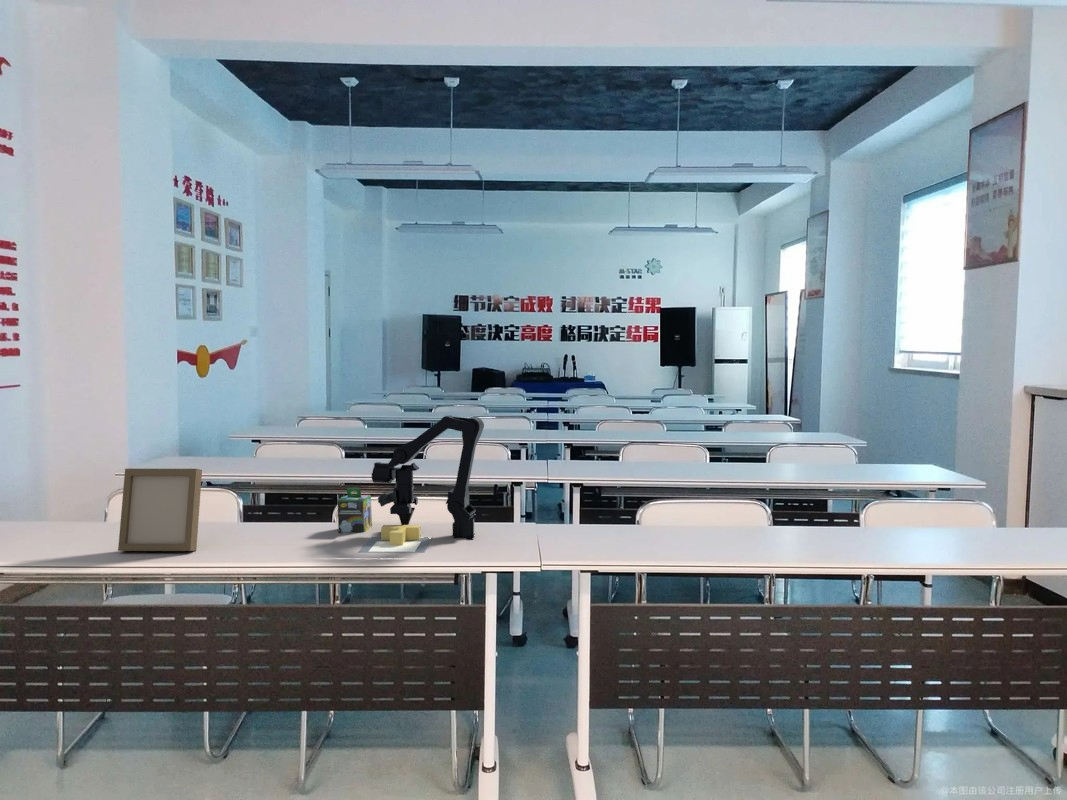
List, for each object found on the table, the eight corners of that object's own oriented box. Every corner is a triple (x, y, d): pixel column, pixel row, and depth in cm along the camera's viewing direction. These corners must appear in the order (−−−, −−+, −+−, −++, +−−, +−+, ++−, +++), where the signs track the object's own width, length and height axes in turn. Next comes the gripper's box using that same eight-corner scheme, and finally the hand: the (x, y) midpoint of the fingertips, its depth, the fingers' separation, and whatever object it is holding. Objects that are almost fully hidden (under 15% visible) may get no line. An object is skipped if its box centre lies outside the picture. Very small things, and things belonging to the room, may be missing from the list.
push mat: (433, 537, 264) (433, 536, 264) (424, 554, 243) (424, 552, 243) (372, 537, 265) (372, 536, 265) (357, 553, 244) (357, 552, 244)
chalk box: (372, 528, 280) (371, 485, 279) (364, 533, 271) (363, 489, 270) (346, 527, 281) (345, 484, 280) (337, 533, 271) (336, 489, 271)
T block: (420, 537, 263) (420, 524, 263) (415, 545, 252) (415, 532, 252) (383, 537, 263) (383, 524, 263) (376, 545, 252) (376, 532, 252)
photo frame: (190, 554, 244) (188, 471, 242) (118, 554, 244) (115, 471, 242) (210, 542, 258) (208, 464, 257) (142, 542, 259) (139, 464, 257)
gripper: (385, 479, 277) (385, 524, 278) (374, 488, 258) (374, 536, 259) (417, 479, 277) (418, 524, 278) (409, 488, 258) (409, 536, 259)
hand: (404, 530), depth 268 cm, fingers closed
